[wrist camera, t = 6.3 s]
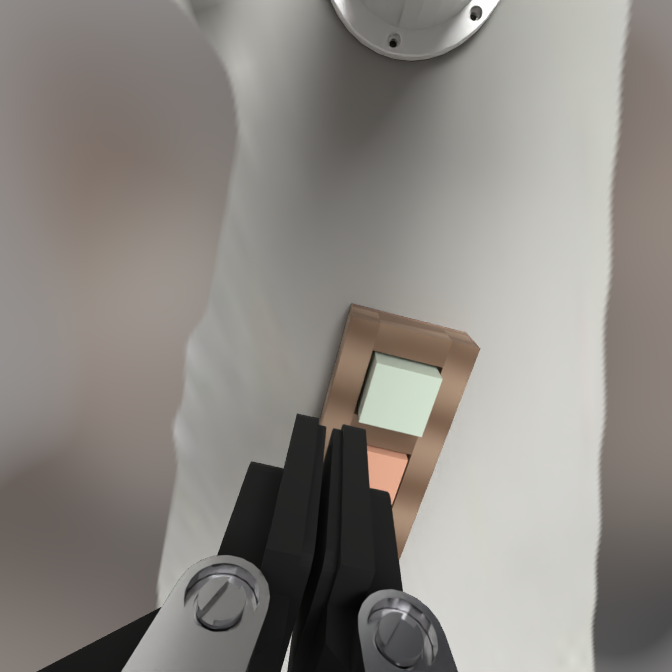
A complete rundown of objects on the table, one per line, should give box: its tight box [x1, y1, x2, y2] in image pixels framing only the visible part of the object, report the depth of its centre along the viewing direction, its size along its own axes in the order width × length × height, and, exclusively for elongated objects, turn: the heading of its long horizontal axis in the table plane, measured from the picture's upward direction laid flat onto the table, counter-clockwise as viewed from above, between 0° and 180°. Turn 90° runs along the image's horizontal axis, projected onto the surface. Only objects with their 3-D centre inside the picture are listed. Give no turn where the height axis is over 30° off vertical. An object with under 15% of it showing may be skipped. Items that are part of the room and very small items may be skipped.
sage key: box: [358, 350, 443, 437], centre depth 34 cm, size 5×5×3 cm
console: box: [318, 304, 480, 559], centre depth 39 cm, size 32×10×4 cm, turn 166°
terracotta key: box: [367, 444, 408, 504], centre depth 37 cm, size 5×5×3 cm
